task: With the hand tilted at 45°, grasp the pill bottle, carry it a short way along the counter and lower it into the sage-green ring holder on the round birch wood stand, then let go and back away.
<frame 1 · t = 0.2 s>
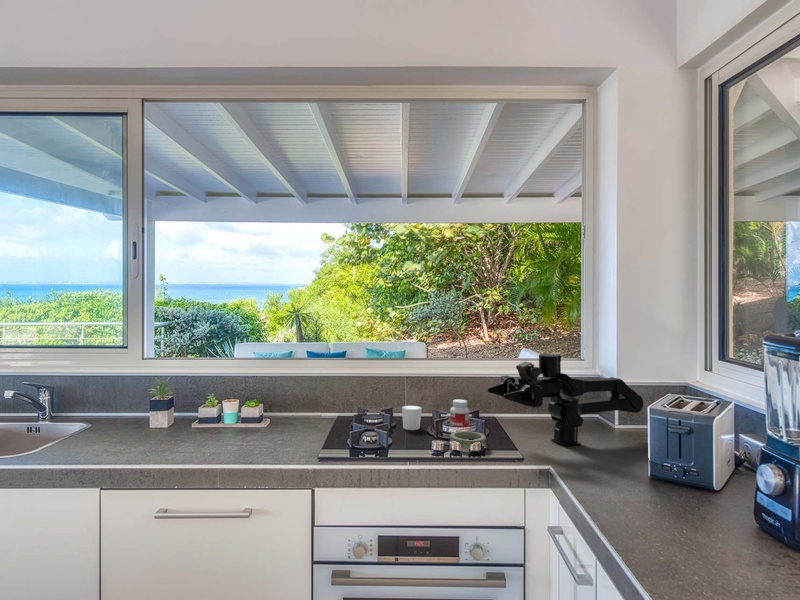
hand: (495, 393, 146), 17 cm above the counter, tool horizontal, fingers open, 9 cm apart
white cup: (411, 428, 169), on the counter
ring holder: (467, 447, 148), on the counter
pill bottle: (459, 435, 162), on the counter
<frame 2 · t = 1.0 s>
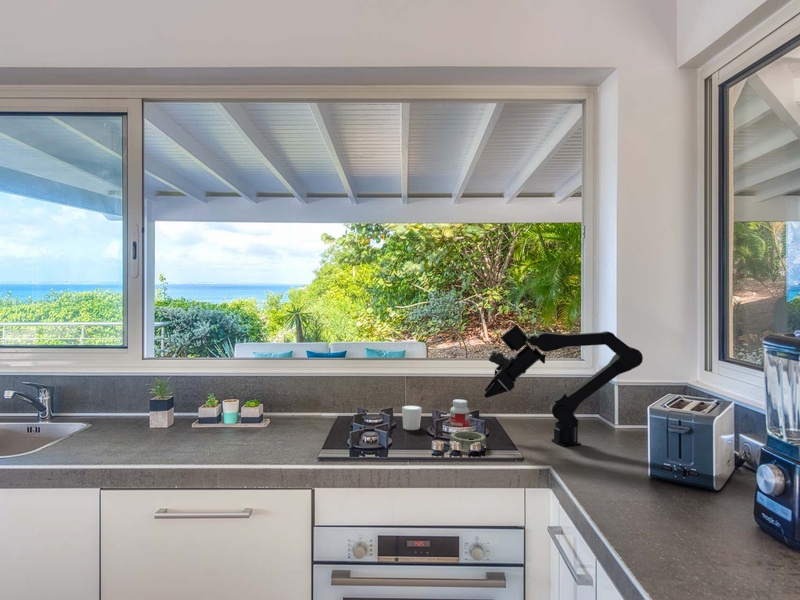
hand: (485, 393, 160), 14 cm above the counter, tool tilted 45°, fingers open, 9 cm apart
nothing on the counter moved.
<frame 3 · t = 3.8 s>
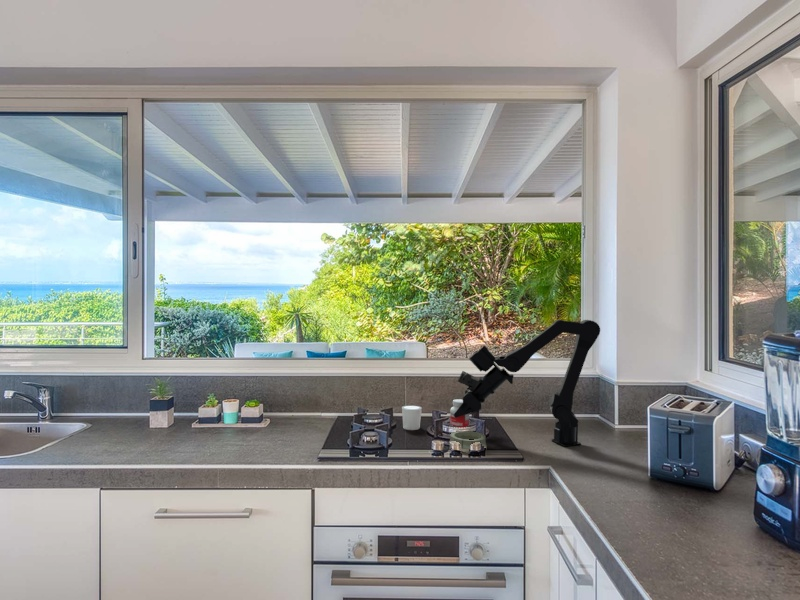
hand: (455, 414, 162), 7 cm above the counter, tool tilted 45°, fingers closed on pill bottle, 6 cm apart
pill bottle: (459, 435, 162), on the counter, touching gripper
everything else where it was.
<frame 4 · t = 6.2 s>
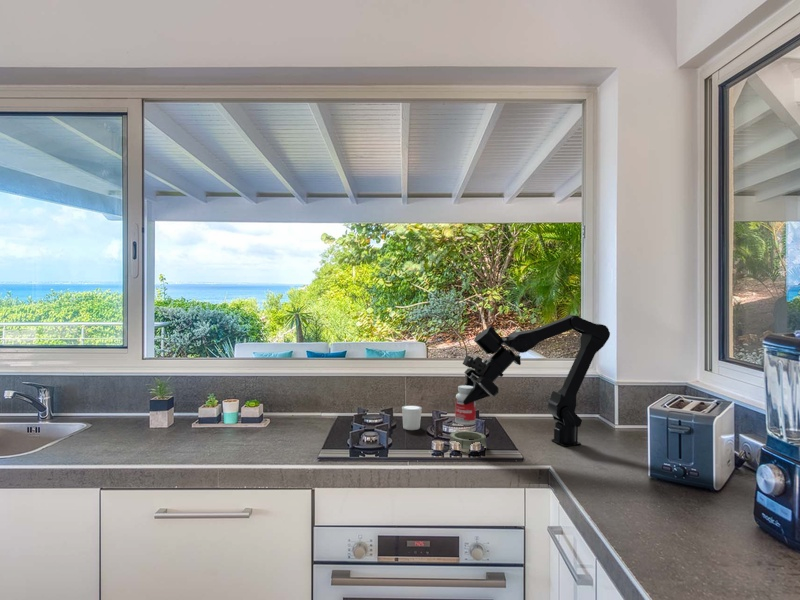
hand: (461, 401, 151), 13 cm above the counter, tool tilted 45°, fingers closed on pill bottle, 6 cm apart
pill bottle: (465, 423, 151), point 6 cm above the counter, touching gripper
everything else where it was.
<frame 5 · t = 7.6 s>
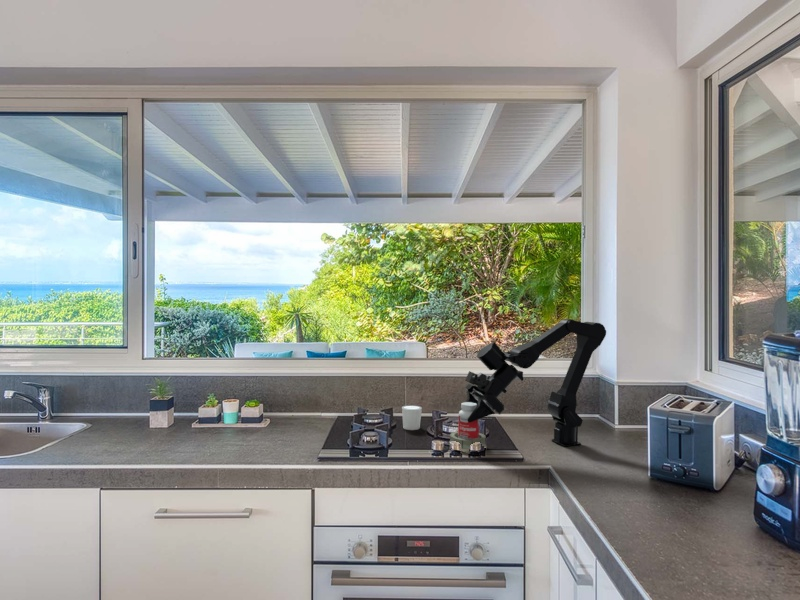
hand: (464, 418, 148), 9 cm above the counter, tool tilted 45°, fingers closed on pill bottle, 6 cm apart
pill bottle: (468, 441, 148), point 2 cm above the counter, touching gripper
everything else where it was.
when the fingers open (8 cm above the counter, at t = 8.6 s): pill bottle stays where it is, resting on ring holder.
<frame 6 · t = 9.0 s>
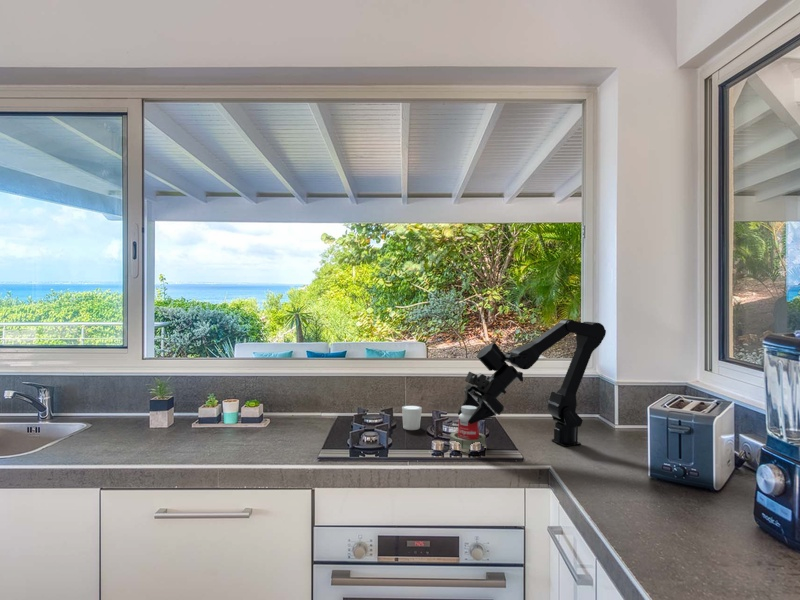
hand: (463, 418, 148), 9 cm above the counter, tool tilted 45°, fingers open, 9 cm apart
pill bottle: (468, 444, 148), point 1 cm above the counter, touching ring holder
everything else where it was.
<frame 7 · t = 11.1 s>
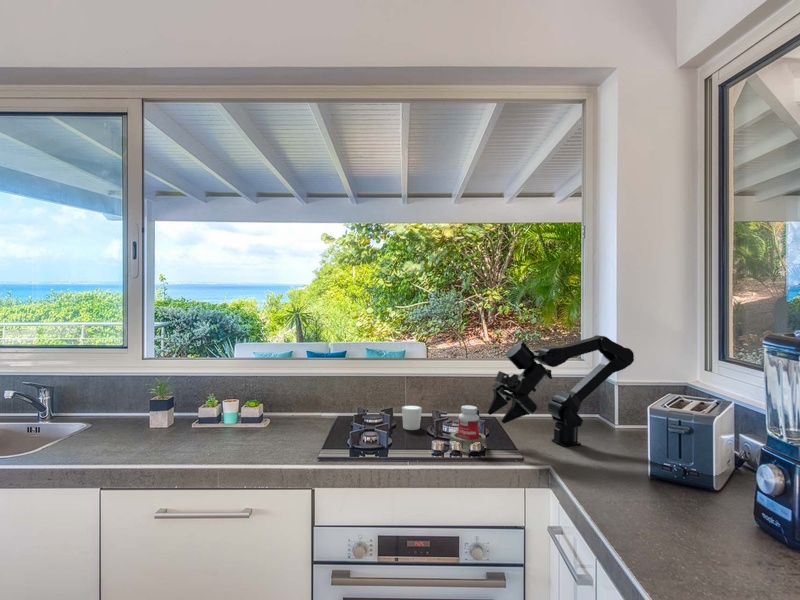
hand: (495, 418, 149), 9 cm above the counter, tool tilted 45°, fingers open, 9 cm apart
nothing on the counter moved.
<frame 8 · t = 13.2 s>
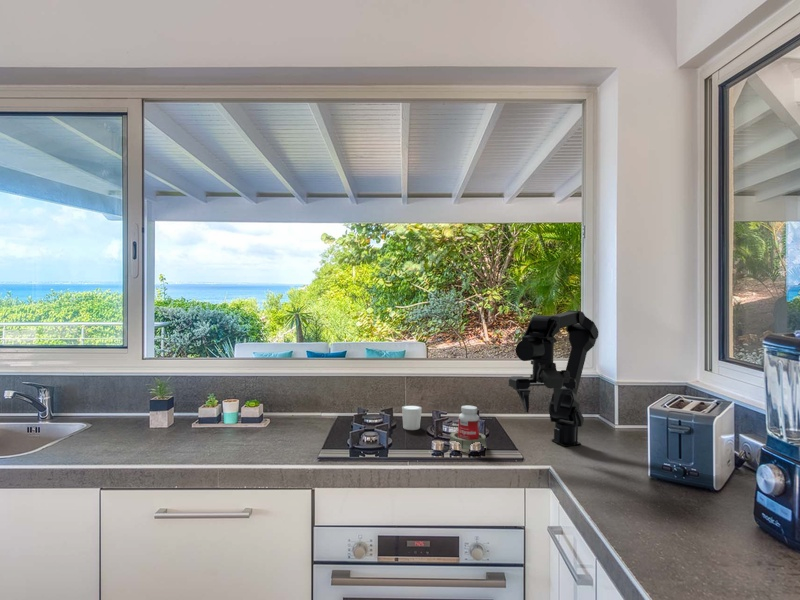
hand: (541, 412, 144), 12 cm above the counter, tool pointing down, fingers open, 9 cm apart
nothing on the counter moved.
at the end: pill bottle 0.2 cm off-centre on the ring holder, point 0.8 cm above the ring holder's base; pill bottle tilted 0°; the gripper is holding nothing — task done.
